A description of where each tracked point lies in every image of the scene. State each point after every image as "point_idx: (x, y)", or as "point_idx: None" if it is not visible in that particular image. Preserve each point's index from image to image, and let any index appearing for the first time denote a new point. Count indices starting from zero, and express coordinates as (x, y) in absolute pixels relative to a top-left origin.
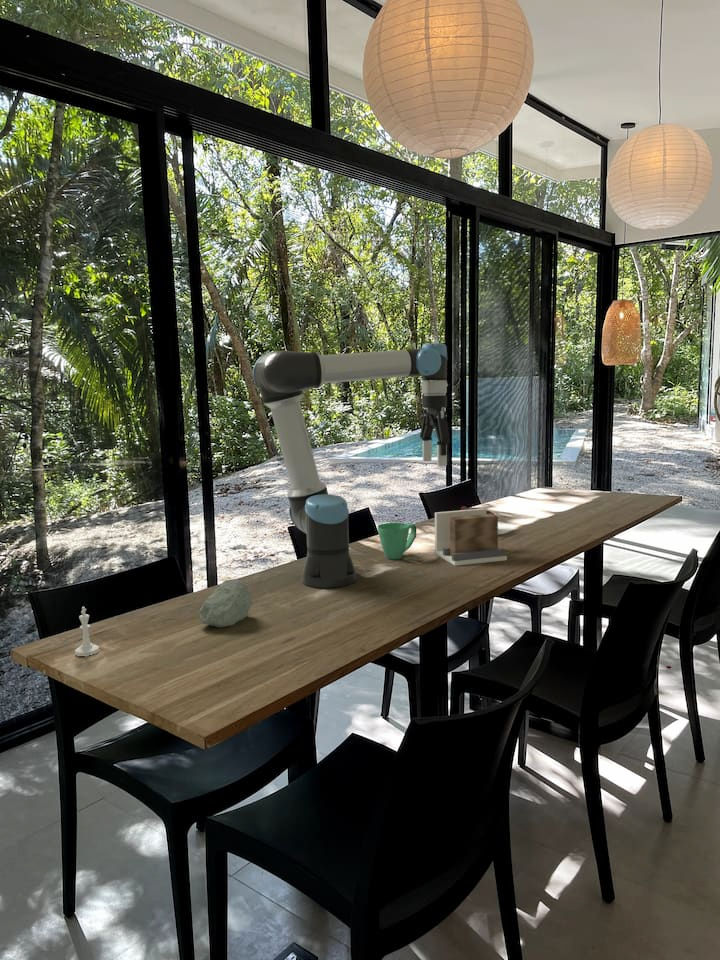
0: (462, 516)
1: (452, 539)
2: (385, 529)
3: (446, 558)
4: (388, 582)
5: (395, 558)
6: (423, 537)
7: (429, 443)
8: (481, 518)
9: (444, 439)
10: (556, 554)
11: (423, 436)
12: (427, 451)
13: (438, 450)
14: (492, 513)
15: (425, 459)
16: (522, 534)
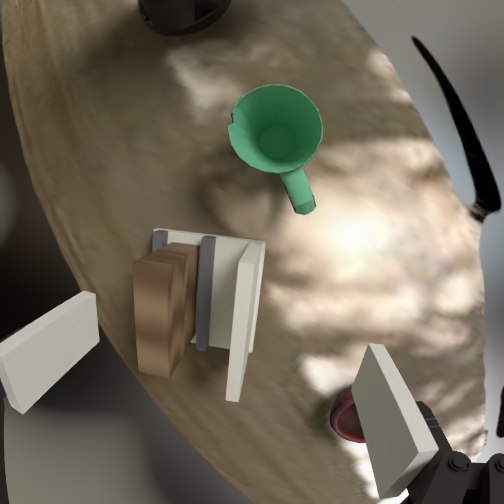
0: (163, 302)
1: (173, 251)
2: (247, 92)
3: (196, 233)
4: (125, 78)
5: (258, 137)
6: (402, 288)
7: (383, 471)
8: (136, 332)
9: None
10: (163, 406)
11: (441, 488)
12: (375, 411)
13: (18, 332)
14: (363, 441)
15: (366, 362)
16: (305, 440)
